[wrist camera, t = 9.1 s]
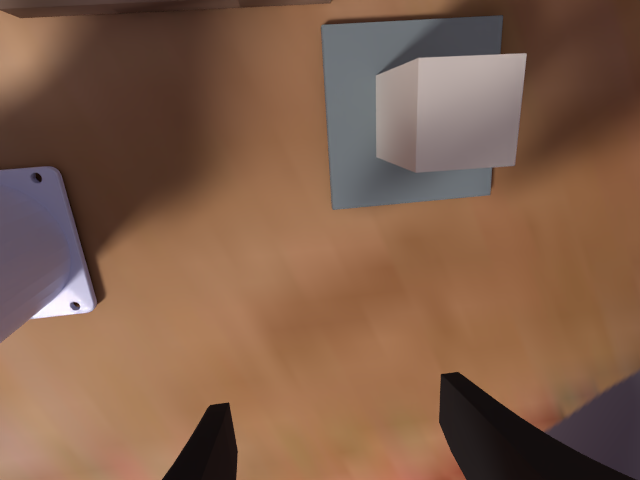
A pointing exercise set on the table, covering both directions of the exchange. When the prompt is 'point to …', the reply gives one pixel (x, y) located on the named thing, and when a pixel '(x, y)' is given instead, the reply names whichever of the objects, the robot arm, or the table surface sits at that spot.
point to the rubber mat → (360, 106)
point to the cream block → (450, 112)
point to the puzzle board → (129, 6)
